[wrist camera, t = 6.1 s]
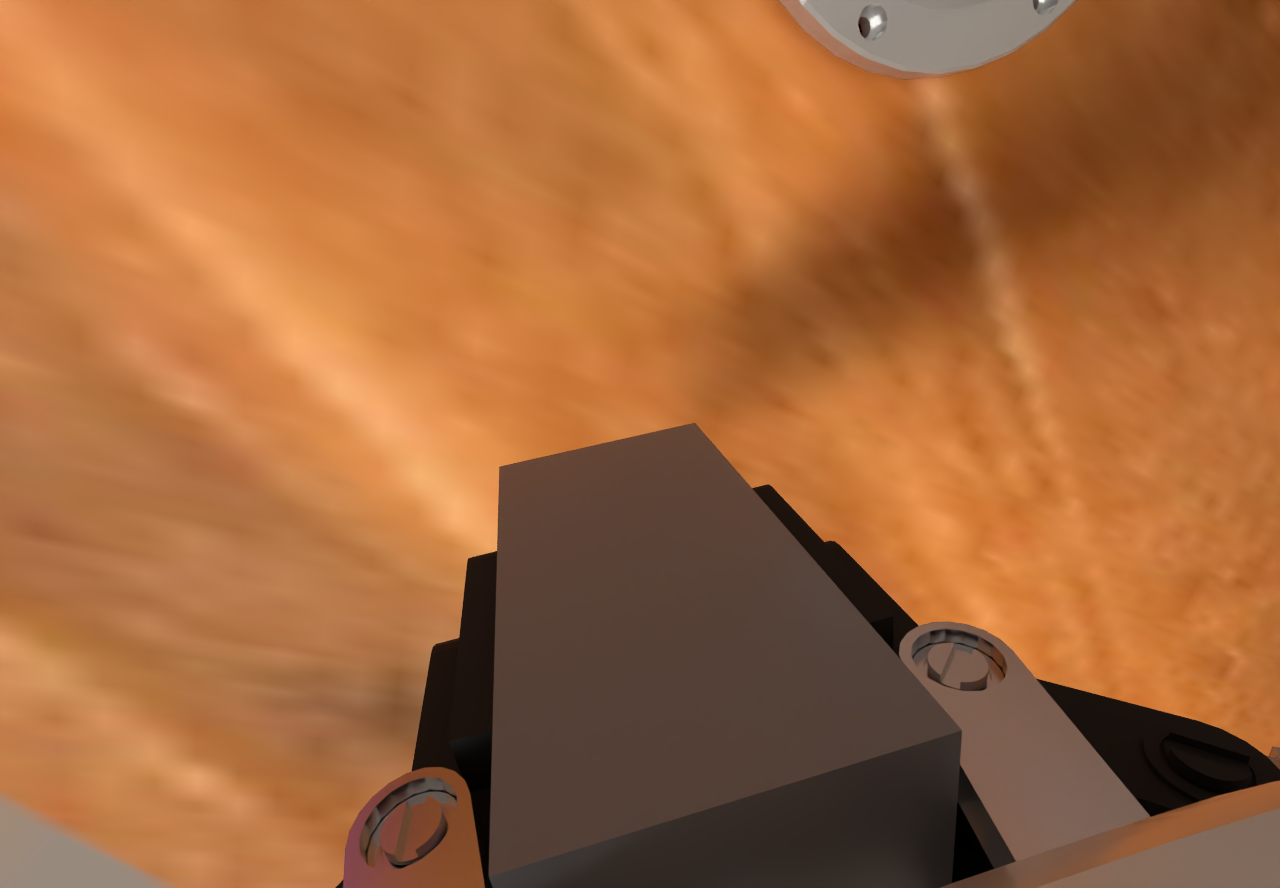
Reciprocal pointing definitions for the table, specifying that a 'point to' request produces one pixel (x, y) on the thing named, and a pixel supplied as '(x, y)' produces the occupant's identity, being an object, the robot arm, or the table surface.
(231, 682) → the table surface
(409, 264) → the table surface
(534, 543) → the plug
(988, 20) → the robot arm
